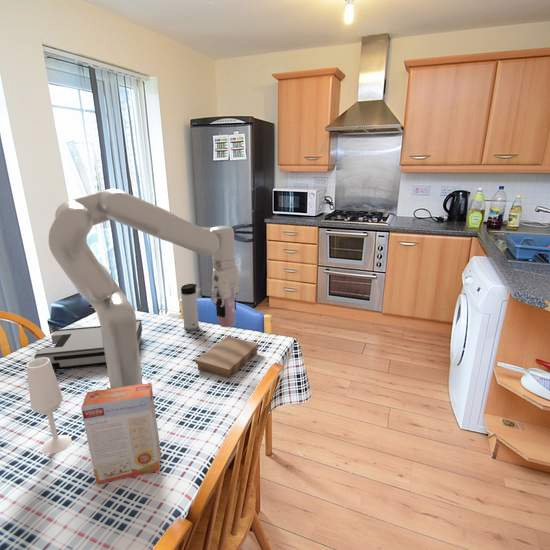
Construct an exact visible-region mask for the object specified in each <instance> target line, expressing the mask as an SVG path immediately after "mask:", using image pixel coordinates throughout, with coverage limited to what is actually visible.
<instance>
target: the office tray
mask: <svg viewBox="0 0 550 550" xmlns="http://www.w3.org/2000/svg"><path fill="white" fill-rule="evenodd" d="M136 332H137V341H138V348H139V347H140V346H141V341H142V336H143V335H142V332H143V323H142V319H136ZM51 341H52V344H53V345H54V346H53V347H47V348H40V349H39V350H38V351H37V352H36V354H35V355H34V356H33V358H34V359H37V358H43V357H46V358H49V359H50V362H51V365H52V368H54V371H58V370H57V369H64V370H71V369H72V368H73V369H80V368H90V367H98V366H107V365H106V358H105V353H104V347H103V340H102V333H101V326H100V325H95V326H85V327H84V326H83V327H73V328H62V329H55V331H54V332H53V333H52V334H51ZM70 368H71V369H70Z"/></svg>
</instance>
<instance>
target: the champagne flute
mask: <svg viewBox="0 0 550 550" xmlns="http://www.w3.org/2000/svg"><path fill="white" fill-rule="evenodd" d="M25 366H26V372H27V381H28V383H27V384H28V392H29V400H30V401H29V402H30V407H31V409H32V410H33V411H34V412H35V413H38V414H41V415H45V416H47V419H48V424H49V427H50V433H51V437H52V438H50V439H48V440H47V441H46V442H45V443H44V444H43V445H42V447H43V448H42V447H41V451H42V450H43V452H44V453H43V452H42V453H43V454H45V453H47V454H46V455H53V454H54V453H55V454H58V453H60V452H62V451H64V450H65V449H68V448H67V447H69V446H70V444H71V443H72V437H71V436H70V435H67V434H61V435H60V434H59V435H58V430H57V426H56V423H55V417H54V412H55V411H56V410H57V409H58V408H59V407H60V406H61V404H62V402H63V398H64V397H63V394H62V391H61V388H60V385H59V382H58V379H57V376H56V373H55V369H53V368H54V367H52V365H51V362H50V359H49V358H46V357H43V358H37V359H35V358H34V359H32V360H30V361H29V362H27V363H26V365H25ZM57 452H58V453H57ZM48 453H49V454H48Z"/></svg>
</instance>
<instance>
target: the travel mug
mask: <svg viewBox="0 0 550 550" xmlns="http://www.w3.org/2000/svg"><path fill="white" fill-rule="evenodd" d="M180 293H181V294H180V295H181V305H182V306H181V307H182V316H183V317H182V319H183V329H184V330H185V331H188V332H193V331H196V330H198V329H199V327H200V326H199V325H200V324H199V323H200V322H199V311H198V296H197V283H196V284H195V283H187V284H184V285H182V286H181V287H180Z"/></svg>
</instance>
